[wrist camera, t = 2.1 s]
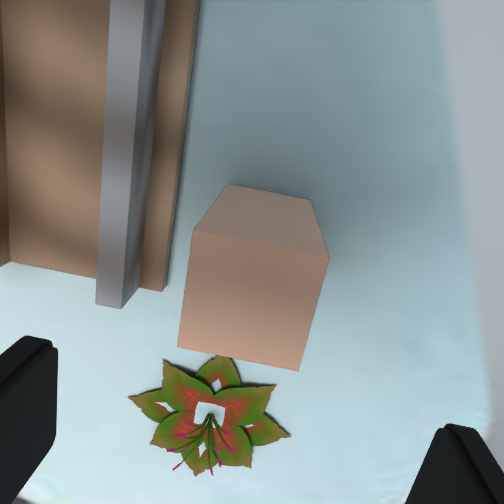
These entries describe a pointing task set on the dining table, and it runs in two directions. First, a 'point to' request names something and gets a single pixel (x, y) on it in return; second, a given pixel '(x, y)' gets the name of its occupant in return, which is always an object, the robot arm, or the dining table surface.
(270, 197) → the terracotta block
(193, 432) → the lily flower
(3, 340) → the dining table surface
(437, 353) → the dining table surface
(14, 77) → the cleat board
